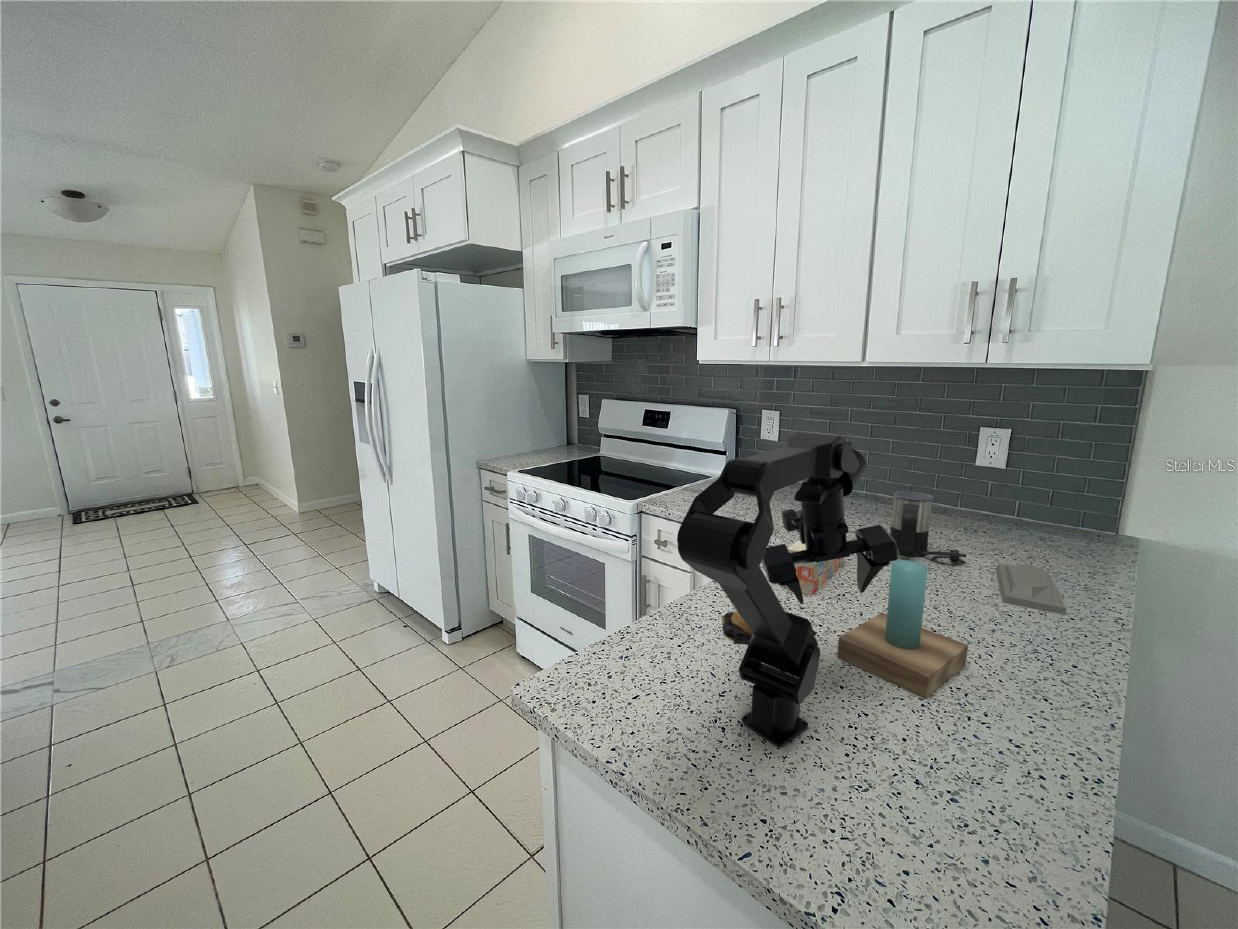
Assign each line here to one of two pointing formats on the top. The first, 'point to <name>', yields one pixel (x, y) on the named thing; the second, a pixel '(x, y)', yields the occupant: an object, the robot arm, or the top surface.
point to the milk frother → (914, 524)
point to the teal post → (906, 604)
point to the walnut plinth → (903, 656)
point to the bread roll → (736, 628)
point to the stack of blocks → (814, 571)
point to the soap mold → (1029, 588)
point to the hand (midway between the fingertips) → (830, 596)
